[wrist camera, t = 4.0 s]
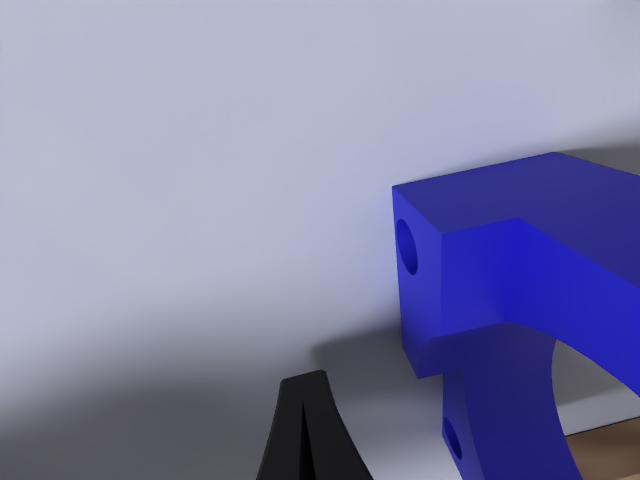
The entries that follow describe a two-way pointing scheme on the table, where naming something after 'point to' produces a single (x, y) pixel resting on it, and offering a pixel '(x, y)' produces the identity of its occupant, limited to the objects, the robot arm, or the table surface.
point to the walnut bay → (608, 451)
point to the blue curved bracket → (517, 300)
